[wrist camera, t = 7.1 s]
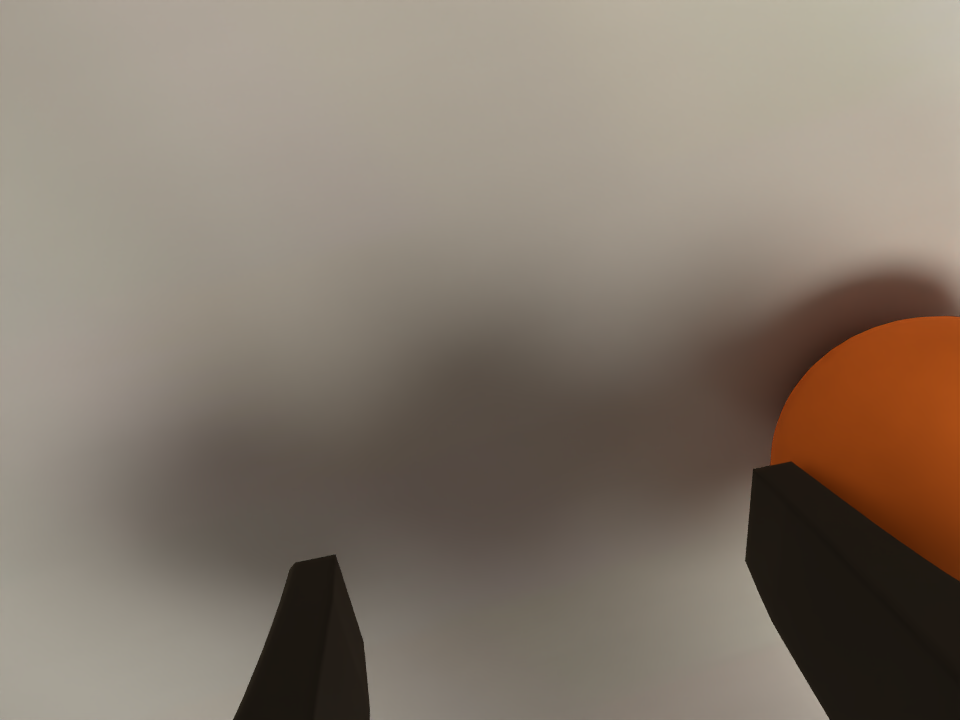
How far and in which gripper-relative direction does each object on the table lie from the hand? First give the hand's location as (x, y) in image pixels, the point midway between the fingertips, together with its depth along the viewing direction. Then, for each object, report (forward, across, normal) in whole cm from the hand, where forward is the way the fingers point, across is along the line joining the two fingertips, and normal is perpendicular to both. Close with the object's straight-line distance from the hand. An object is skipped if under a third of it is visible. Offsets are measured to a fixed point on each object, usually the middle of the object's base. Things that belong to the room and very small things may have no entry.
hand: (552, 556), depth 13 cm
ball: (0, -6, 0) cm, 6 cm away
